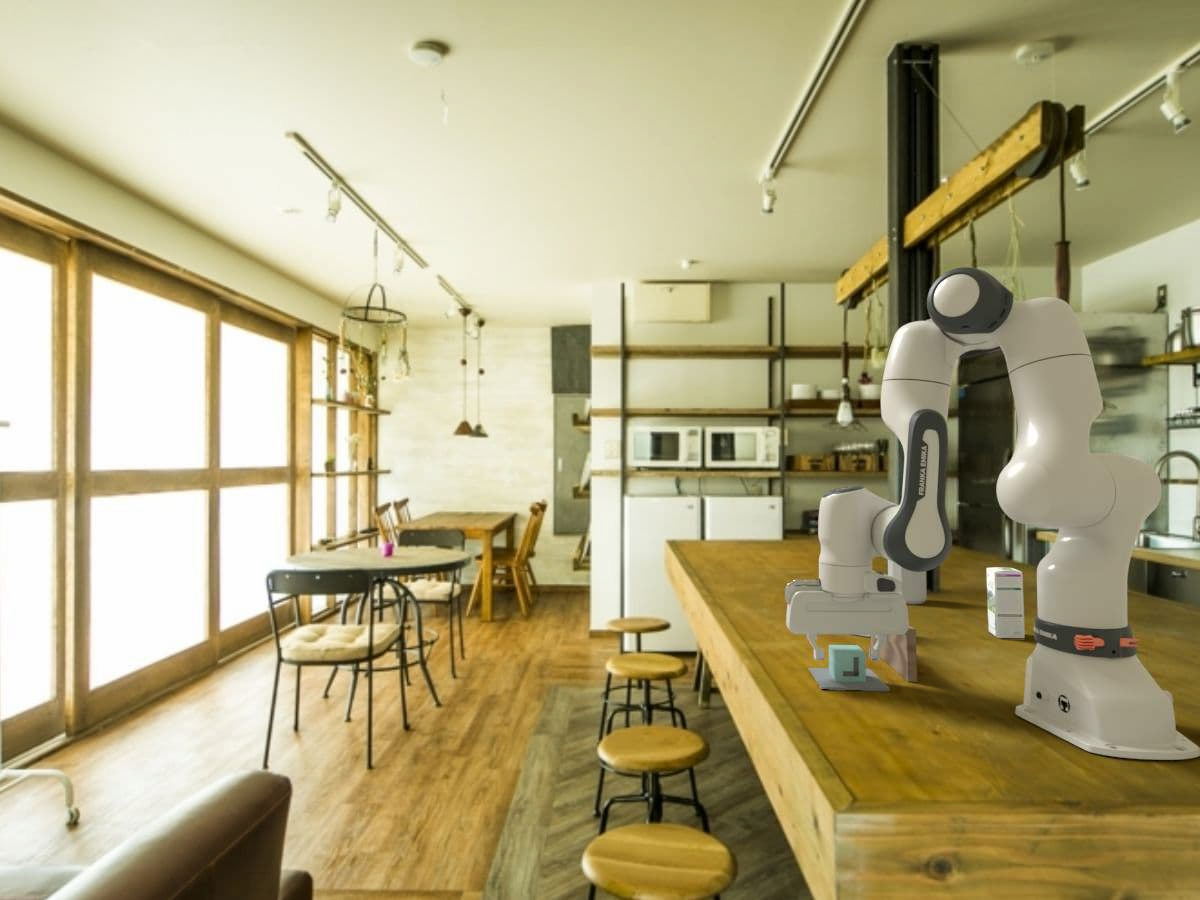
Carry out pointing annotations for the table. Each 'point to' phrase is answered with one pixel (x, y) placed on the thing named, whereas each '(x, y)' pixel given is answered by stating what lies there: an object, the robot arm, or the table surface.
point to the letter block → (847, 663)
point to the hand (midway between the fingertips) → (846, 659)
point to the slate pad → (829, 683)
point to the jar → (909, 583)
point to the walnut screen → (900, 653)
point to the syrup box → (1005, 602)
